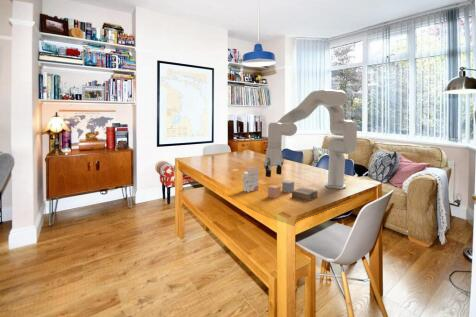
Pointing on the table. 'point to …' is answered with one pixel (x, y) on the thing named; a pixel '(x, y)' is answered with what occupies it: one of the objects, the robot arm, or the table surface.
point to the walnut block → (304, 194)
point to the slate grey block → (287, 186)
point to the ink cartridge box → (250, 179)
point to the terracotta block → (274, 191)
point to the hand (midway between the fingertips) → (273, 175)
